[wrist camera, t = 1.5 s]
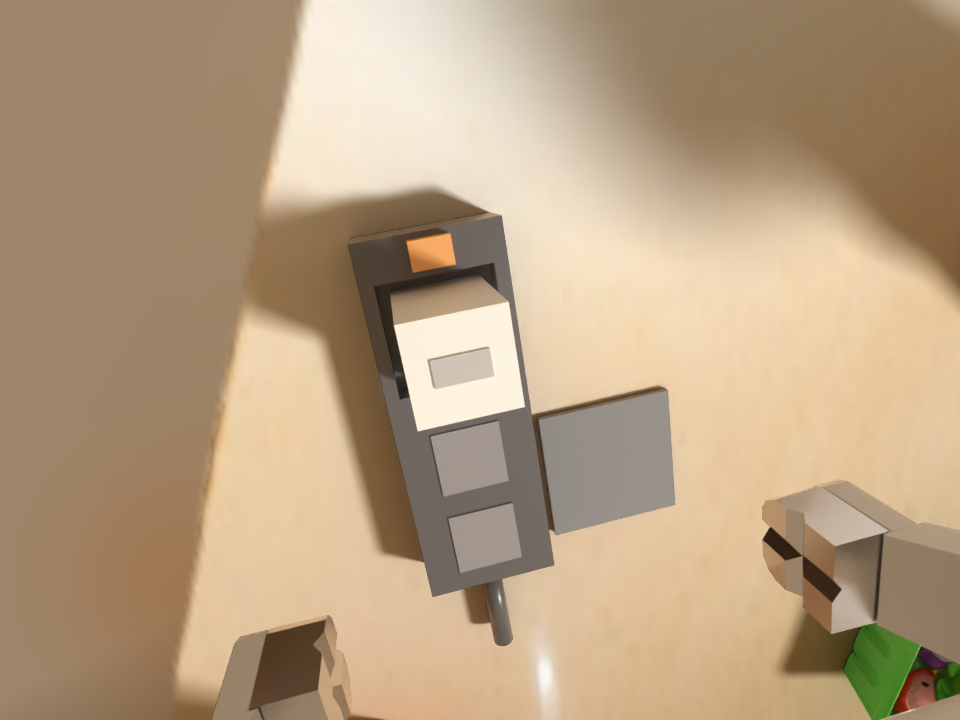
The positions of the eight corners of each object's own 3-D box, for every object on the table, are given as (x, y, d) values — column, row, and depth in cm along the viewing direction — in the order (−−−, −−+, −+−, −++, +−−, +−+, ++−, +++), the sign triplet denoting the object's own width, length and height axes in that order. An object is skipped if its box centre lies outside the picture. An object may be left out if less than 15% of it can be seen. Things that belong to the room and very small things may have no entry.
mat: (664, 388, 34) (667, 390, 34) (672, 501, 37) (675, 504, 36) (537, 417, 33) (538, 420, 33) (553, 531, 36) (555, 535, 36)
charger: (478, 274, 29) (509, 302, 22) (492, 357, 30) (525, 407, 23) (389, 291, 28) (393, 326, 21) (408, 375, 30) (417, 432, 23)
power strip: (489, 212, 29) (505, 216, 26) (552, 610, 38) (570, 655, 34) (350, 238, 29) (346, 246, 25) (445, 639, 37) (453, 688, 33)
